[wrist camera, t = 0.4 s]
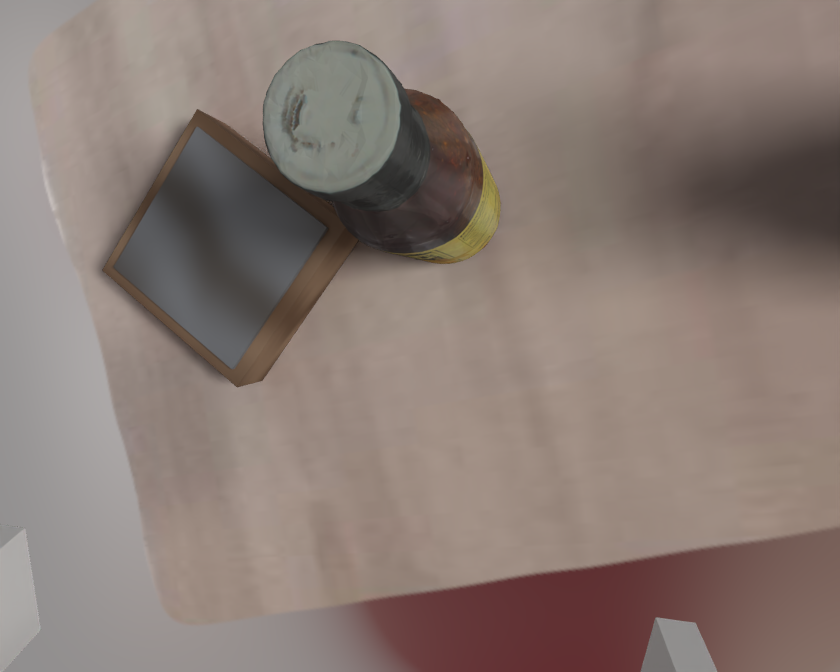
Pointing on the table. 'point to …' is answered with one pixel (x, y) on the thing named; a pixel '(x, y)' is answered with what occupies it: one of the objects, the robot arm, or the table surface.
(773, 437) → the table surface
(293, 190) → the pedestal
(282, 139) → the sauce bottle
